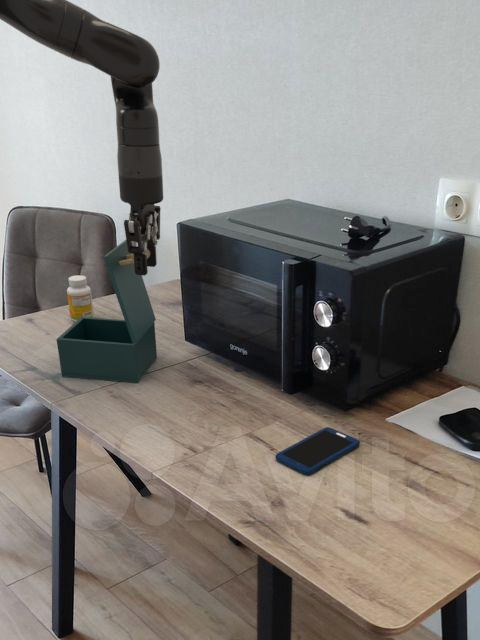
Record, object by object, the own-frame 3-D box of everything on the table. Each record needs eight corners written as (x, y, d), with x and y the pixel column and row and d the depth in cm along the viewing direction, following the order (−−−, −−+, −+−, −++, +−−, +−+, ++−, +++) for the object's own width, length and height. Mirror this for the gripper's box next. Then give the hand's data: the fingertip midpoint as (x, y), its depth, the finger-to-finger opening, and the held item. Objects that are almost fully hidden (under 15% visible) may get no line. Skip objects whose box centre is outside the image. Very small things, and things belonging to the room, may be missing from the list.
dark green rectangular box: (62, 376, 139) (56, 339, 134) (86, 352, 149) (81, 316, 145) (138, 383, 137) (134, 345, 132) (157, 357, 147) (154, 322, 143)
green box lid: (102, 256, 124) (130, 251, 123) (126, 239, 135) (152, 233, 133) (132, 343, 132) (158, 339, 131) (152, 320, 143) (177, 316, 141)
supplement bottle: (74, 314, 168) (68, 273, 163) (96, 315, 168) (91, 274, 162) (68, 322, 163) (62, 281, 158) (91, 323, 163) (85, 281, 158)
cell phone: (361, 444, 118) (361, 440, 117) (307, 476, 109) (308, 472, 109) (327, 429, 122) (327, 425, 122) (273, 459, 113) (273, 455, 113)
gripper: (148, 181, 115) (154, 283, 124) (172, 166, 127) (176, 261, 136) (104, 177, 116) (113, 280, 125) (132, 164, 128) (138, 258, 137)
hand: (146, 269), depth 131 cm, fingers closed on green box lid, 5 cm apart
